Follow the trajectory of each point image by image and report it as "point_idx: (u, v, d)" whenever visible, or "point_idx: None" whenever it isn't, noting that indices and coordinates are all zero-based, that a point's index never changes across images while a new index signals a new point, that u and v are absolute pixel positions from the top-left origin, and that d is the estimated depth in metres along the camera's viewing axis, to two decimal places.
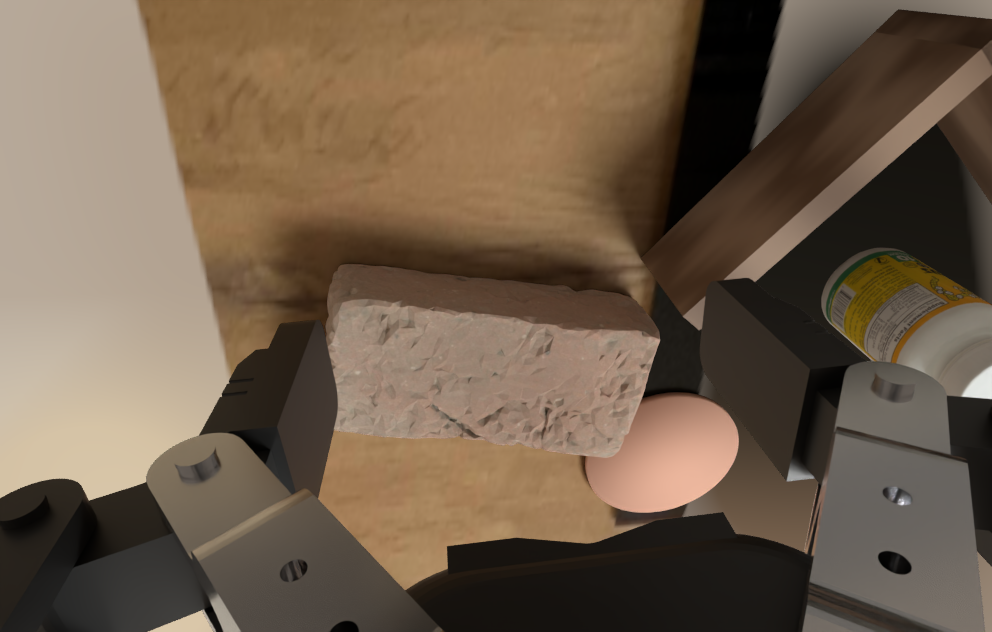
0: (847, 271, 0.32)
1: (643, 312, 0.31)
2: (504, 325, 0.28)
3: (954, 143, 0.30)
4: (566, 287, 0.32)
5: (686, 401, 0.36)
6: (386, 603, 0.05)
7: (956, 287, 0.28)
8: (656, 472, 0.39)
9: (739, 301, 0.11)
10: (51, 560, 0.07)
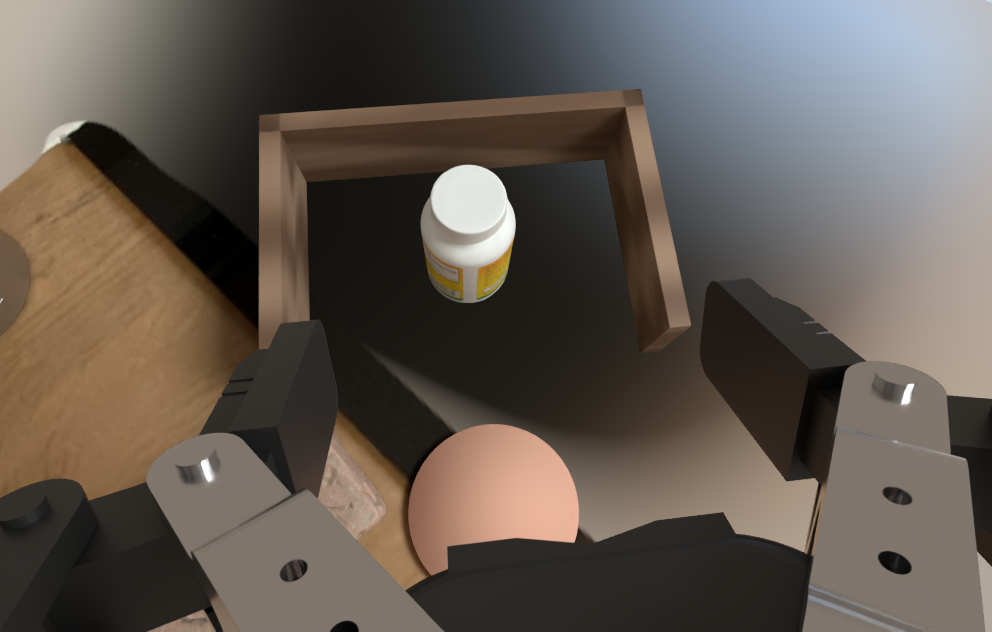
0: (427, 268, 0.39)
1: None
2: None
3: (399, 172, 0.41)
4: None
5: (446, 446, 0.36)
6: (386, 605, 0.05)
7: None
8: (506, 528, 0.35)
9: (739, 301, 0.11)
10: (52, 559, 0.07)
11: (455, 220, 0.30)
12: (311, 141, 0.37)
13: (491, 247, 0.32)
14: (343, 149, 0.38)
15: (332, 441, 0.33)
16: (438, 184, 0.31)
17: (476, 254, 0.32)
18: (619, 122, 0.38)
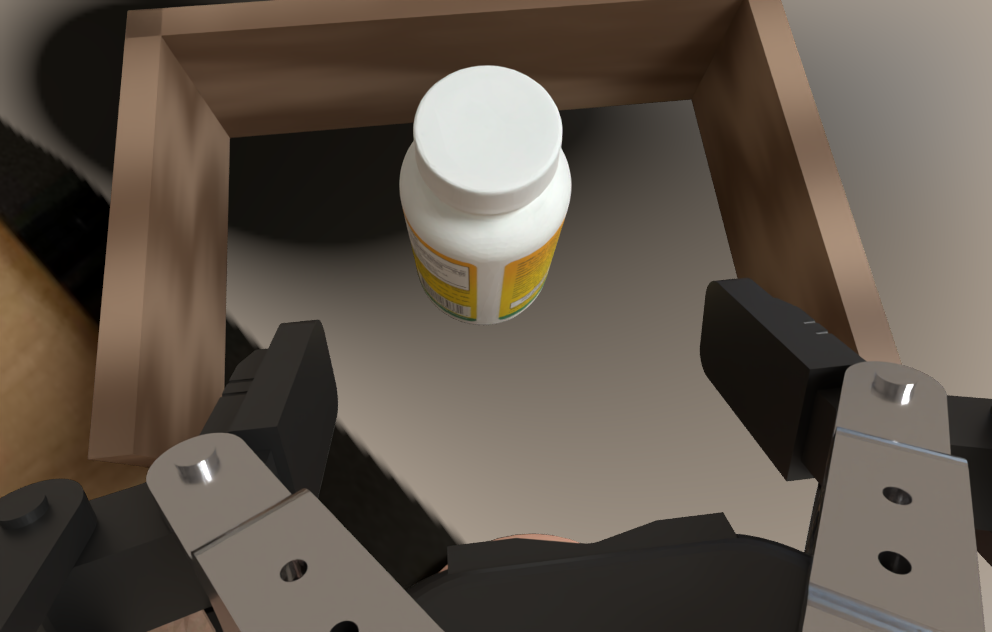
0: None
1: None
2: None
3: (374, 120, 0.27)
4: None
5: None
6: (386, 603, 0.05)
7: None
8: None
9: (739, 301, 0.11)
10: (52, 559, 0.07)
11: (462, 168, 0.15)
12: (220, 58, 0.22)
13: (530, 225, 0.17)
14: (278, 75, 0.23)
15: None
16: (428, 101, 0.16)
17: (502, 237, 0.17)
18: (731, 26, 0.23)
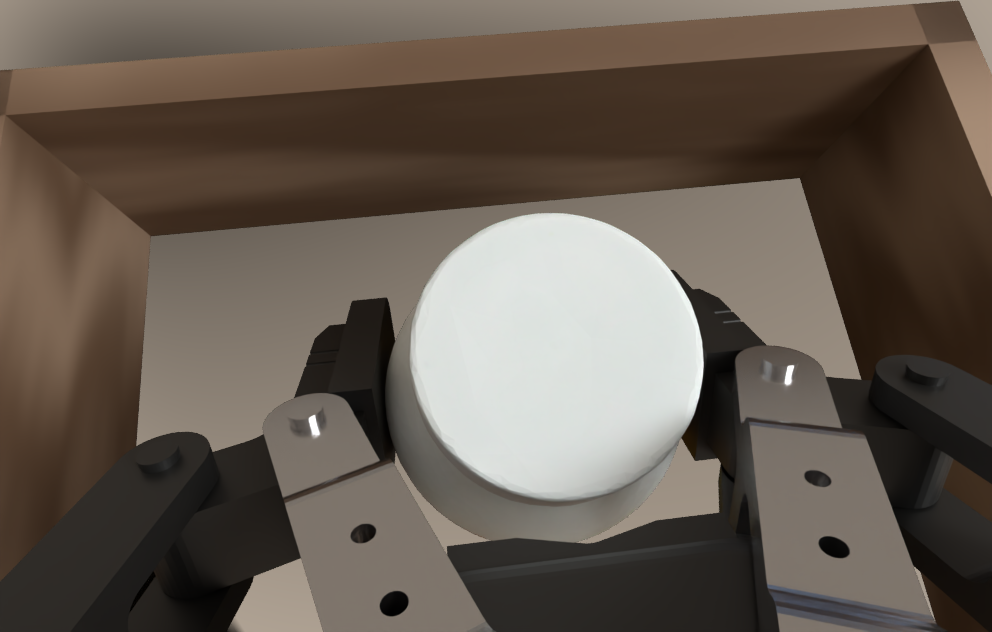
0: None
1: None
2: None
3: (356, 212, 0.19)
4: None
5: None
6: (438, 584, 0.05)
7: None
8: None
9: None
10: (174, 509, 0.07)
11: (509, 443, 0.08)
12: (112, 143, 0.14)
13: (622, 492, 0.09)
14: (207, 163, 0.15)
15: None
16: (439, 290, 0.08)
17: (573, 518, 0.09)
18: (889, 89, 0.16)
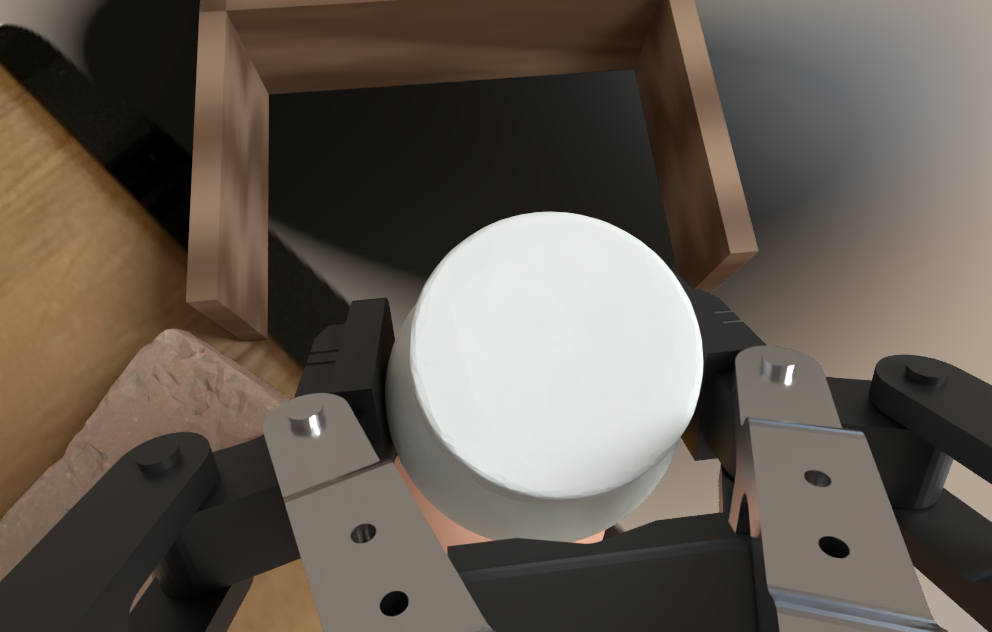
0: None
1: None
2: (39, 491, 0.23)
3: (382, 82, 0.34)
4: None
5: None
6: (438, 584, 0.05)
7: None
8: None
9: None
10: (174, 508, 0.07)
11: (509, 441, 0.08)
12: (268, 29, 0.29)
13: (622, 491, 0.09)
14: (310, 43, 0.30)
15: (232, 363, 0.26)
16: (439, 289, 0.08)
17: (573, 516, 0.09)
18: (657, 9, 0.31)
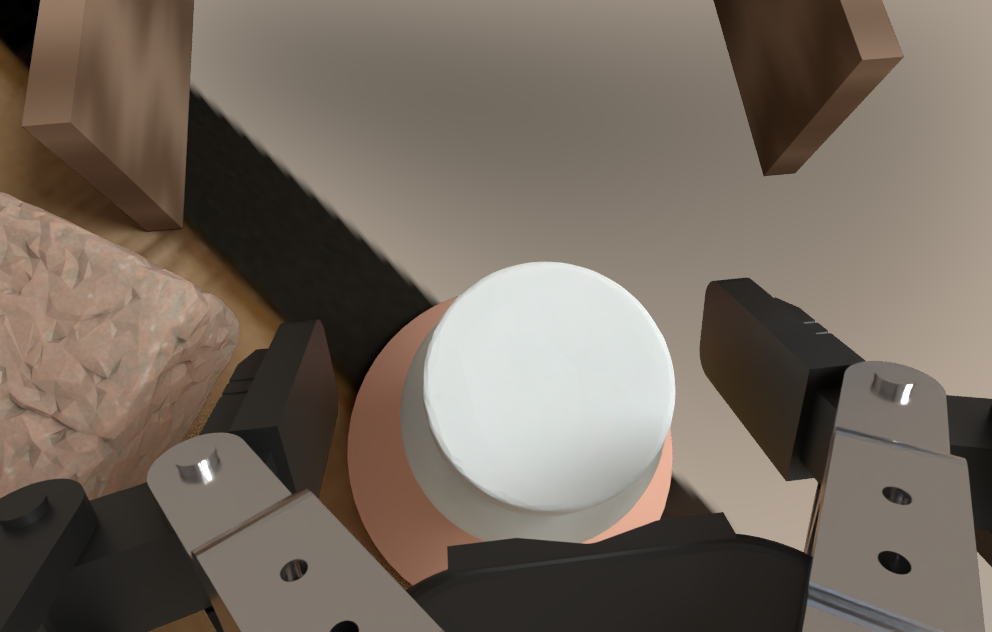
0: None
1: None
2: None
3: None
4: None
5: (421, 325, 0.19)
6: (386, 603, 0.05)
7: None
8: None
9: (738, 301, 0.11)
10: (52, 559, 0.07)
11: (508, 463, 0.09)
12: None
13: (610, 501, 0.11)
14: None
15: (70, 223, 0.17)
16: (447, 332, 0.09)
17: (567, 525, 0.11)
18: None
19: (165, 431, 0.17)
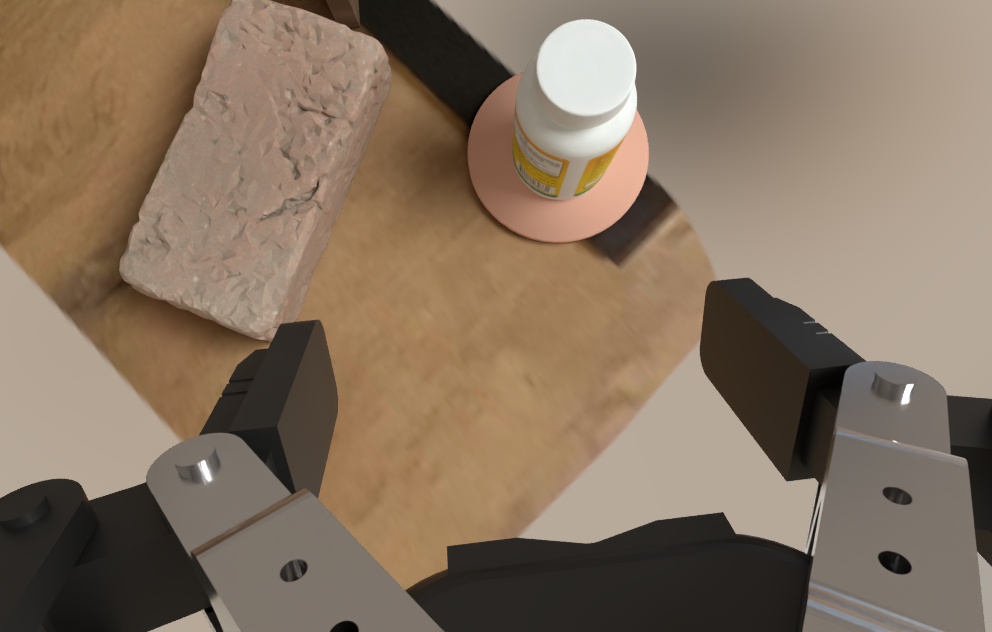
0: (513, 157, 0.32)
1: None
2: (185, 132, 0.30)
3: None
4: None
5: (507, 87, 0.33)
6: (386, 603, 0.05)
7: None
8: None
9: (739, 301, 0.11)
10: (51, 559, 0.07)
11: (570, 98, 0.23)
12: None
13: (608, 133, 0.25)
14: None
15: None
16: (545, 48, 0.23)
17: (590, 142, 0.25)
18: None
19: (366, 128, 0.32)
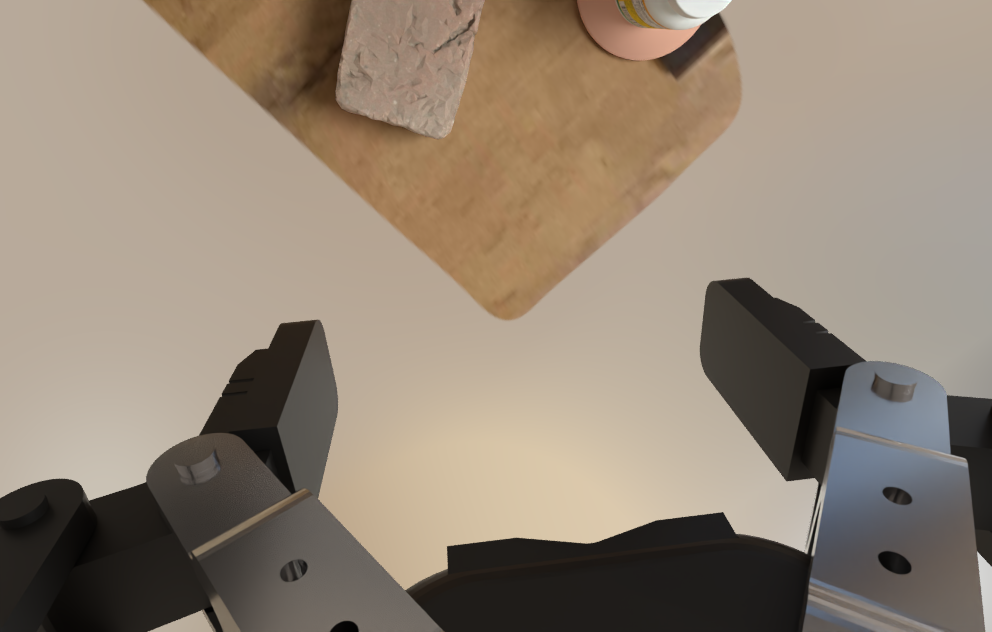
0: None
1: None
2: None
3: None
4: None
5: None
6: (386, 603, 0.05)
7: None
8: None
9: (739, 301, 0.11)
10: (51, 560, 0.07)
11: (691, 3, 0.34)
12: None
13: None
14: None
15: None
16: None
17: (692, 22, 0.36)
18: None
19: None
